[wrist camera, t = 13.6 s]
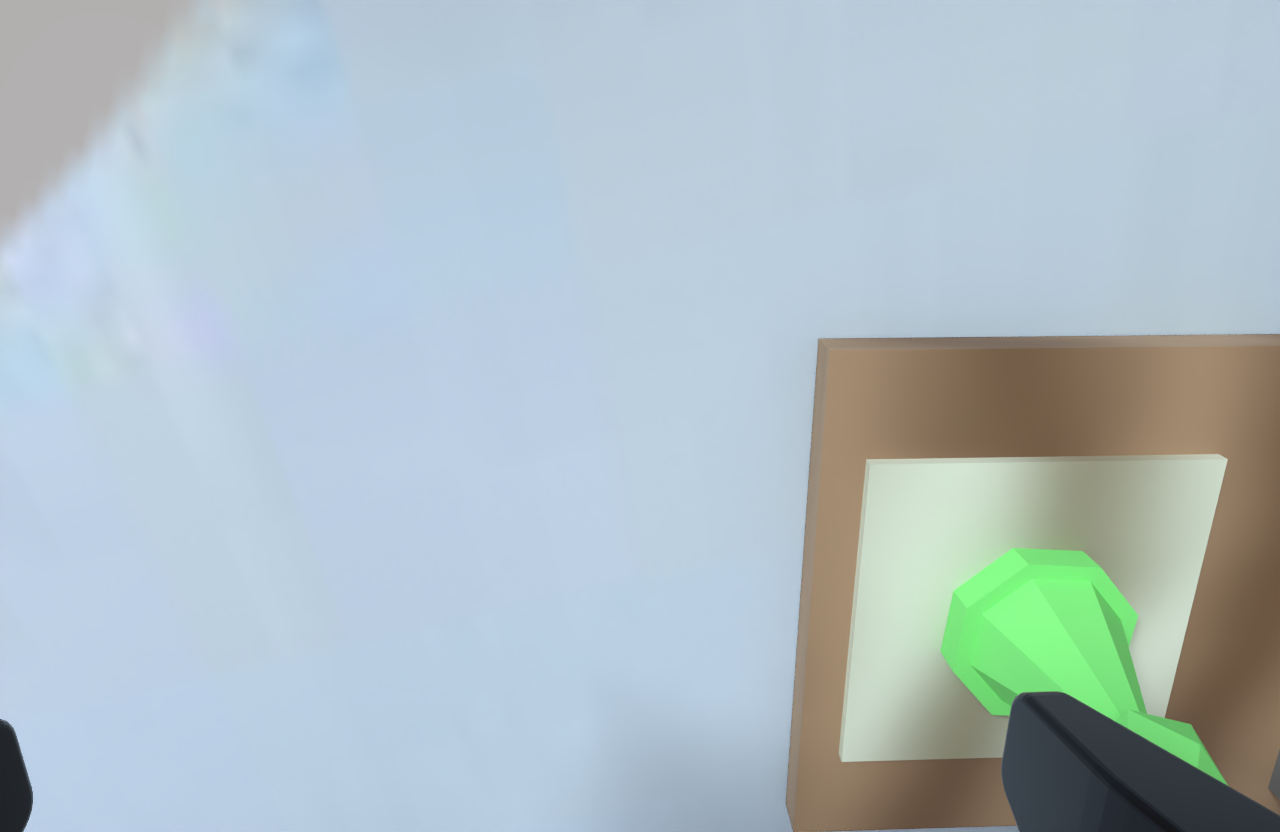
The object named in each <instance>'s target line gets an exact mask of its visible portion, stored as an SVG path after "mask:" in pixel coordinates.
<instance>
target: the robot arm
mask: <svg viewBox="0 0 1280 832" xmlns="http://www.w3.org/2000/svg"><path fill="white" fill-rule="evenodd" d="M1001 776H1002V783H1003V787H1004V791H1005V794H1006V797H1007V800H1008V802H1009V805H1010V808H1011V810H1012V813H1013V815H1014V818H1015V821H1016V823H1017V826H1018V829H1019V831H1020V832H1280V815H1278V814H1276V813H1275V812H1273V811H1271V810H1269V809H1268V808H1266V807H1264V806H1262V805H1261V804H1259V803H1257V802H1255V801H1254V800H1252V799H1250V798H1248V797H1247V796H1245V795H1243V794H1241V793H1240V792H1238V791H1236V790H1234V789H1233V788H1231V787H1229V786H1227V785H1226V784H1224V783H1222V782H1220V781H1219V780H1217V779H1215V778H1213V777H1212V776H1210V775H1208V774H1206V773H1205V772H1203V771H1201V770H1199V769H1198V768H1196V767H1194V766H1192V765H1191V764H1189V763H1187V762H1185V761H1184V760H1182V759H1180V758H1178V757H1177V756H1175V755H1173V754H1171V753H1170V752H1168V751H1166V750H1164V749H1163V748H1161V747H1159V746H1157V745H1156V744H1154V743H1152V742H1150V741H1149V740H1147V739H1145V738H1144V737H1142V736H1140V735H1138V734H1137V733H1135V732H1133V731H1131V730H1130V729H1128V728H1126V727H1124V726H1123V725H1121V724H1119V723H1117V722H1116V721H1114V720H1112V719H1110V718H1109V717H1107V716H1105V715H1103V714H1102V713H1100V712H1098V711H1096V710H1095V709H1093V708H1091V707H1089V706H1088V705H1086V704H1084V703H1082V702H1081V701H1079V700H1077V699H1075V698H1074V697H1072V696H1070V695H1068V694H1066V693H1063V692H1058V691H1047V692H1023V693H1021V694H1019V695H1017V696H1016V697H1015V699H1014V701H1013V703H1012V706H1011V710H1010V716H1009V722H1008V727H1007V733H1006V739H1005V745H1004V751H1003V757H1002V763H1001ZM32 804H33V792H32V787H31V783H30V780H29V777H28V773H27V770H26V767H25V763H24V760H23V756H22V753H21V750H20V746H19V743H18V739H17V736H16V733H15V731H14V728H13V727H12V726H11V725H10V724H9V723H8V722H7V721H5V720H2V719H0V832H23V831H24V829H25V827H26V825H27V822H28V820H29V817H30V814H31V811H32Z"/></svg>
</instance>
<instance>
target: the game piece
mask: <svg viewBox="0 0 1280 832" xmlns="http://www.w3.org/2000/svg"><path fill="white" fill-rule="evenodd" d="M1137 618H1138V614H1137V613H1136V612H1135V611H1134V609H1133V608H1132V607H1131V605H1130V604H1129V603H1128V602H1127V600H1126V599H1125V598H1124V596H1123V595H1122V594H1121V593H1120V591H1119V590H1118V589H1117V587H1116V586H1115V585H1114V583H1113V582H1112V581H1111V580H1110V578H1109V577H1108V576H1107V574H1106V573H1105V572H1104V571H1103V569H1102V568H1101V567H1100V566H1099V565H1098V564H1097V563H1096V562H1094V561H1093V560H1092V559H1091V558H1090V557H1089V556H1088V555H1087V554H1086V553H1084V552H1083V551H1069V550H1047V549H1025V548H1012V549H1011V550H1009V551H1008V552H1007V553H1005V554H1004V555H1003V556H1001V557H1000V558H998V559H997V560H996V561H994V562H993V563H991V564H990V565H989V566H987V567H986V568H984V569H983V570H982V571H980V572H979V573H977V574H976V575H975V576H973V577H972V578H971V579H969V580H968V581H966V582H965V583H964V584H962V585H961V586H959V587H958V588H957V589H955V590H954V591H953V595H952V600H951V604H950V609H949V614H948V618H947V623H946V628H945V632H944V637H943V642H942V646H941V651H940V652H941V653H942V655H943V657H944V658H945V660H946V661H947V663H948V665H949V666H950V668H951V669H952V671H953V672H954V673H955V674H956V675H957V677H958V678H959V679H960V680H961V681H962V682H963V683H964V684H965V686H966V687H967V688H968V689H969V690H970V691H971V692H972V693H973V695H974V696H975V697H976V698H977V699H978V700H979V701H980V702H981V704H982V705H983V706H984V707H985V708H986V709H987V710H988V711H989V712H990V714H991V715H1006V716H1010V710H1011V706H1012V703H1013V701H1014V699H1015V697H1016V696H1017V695H1019V694H1021V693H1023V692H1047V691H1058V692H1063V693H1066V694H1068V695H1070V696H1072V697H1074V698H1075V699H1077V700H1079V701H1081V702H1082V703H1084V704H1086V705H1088V706H1089V707H1091V708H1093V709H1095V710H1096V711H1098V712H1100V713H1102V714H1103V715H1105V716H1107V717H1109V718H1110V719H1112V720H1114V721H1116V722H1117V723H1119V724H1121V725H1123V726H1124V727H1126V728H1128V729H1130V730H1131V731H1133V732H1135V733H1137V734H1138V735H1140V736H1142V737H1144V738H1145V739H1147V740H1149V741H1150V742H1152V743H1154V744H1156V745H1157V746H1159V747H1161V748H1163V749H1164V750H1166V751H1168V752H1170V753H1171V754H1173V755H1175V756H1177V757H1178V758H1180V759H1182V760H1184V761H1185V762H1187V763H1189V764H1191V765H1192V766H1194V767H1196V768H1198V769H1199V770H1201V771H1203V772H1205V773H1206V774H1208V775H1210V776H1212V777H1213V778H1215V779H1217V780H1219V781H1220V782H1222V783H1224V784H1226V785H1227V783H1226V781H1225V780H1224V778H1223V776H1222V775H1221V773H1220V771H1219V770H1218V768H1217V766H1216V765H1215V763H1214V761H1213V760H1212V758H1211V757H1210V755H1209V753H1208V752H1207V750H1206V748H1205V747H1204V745H1203V743H1202V742H1201V740H1200V738H1199V737H1198V735H1197V733H1196V732H1195V730H1194V729H1193V727H1192V725H1191V724H1188V723H1183V722H1179V721H1175V720H1171V719H1167V718H1163V717H1158V716H1154V715H1150V714H1147V711H1146V708H1145V704H1144V701H1143V697H1142V694H1141V690H1140V686H1139V683H1138V679H1137V676H1136V672H1135V668H1134V665H1133V661H1132V658H1131V654H1130V651H1129V645H1130V642H1131V639H1132V635H1133V632H1134V628H1135V625H1136V622H1137ZM1227 786H1228V785H1227Z"/></svg>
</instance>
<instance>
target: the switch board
mask: <svg viewBox="0 0 1280 832" xmlns="http://www.w3.org/2000/svg"><path fill="white" fill-rule="evenodd" d="M1012 548H1025V549H1047V550H1069V551H1083V552H1084V553H1086V554H1087V555H1088V556H1089V557H1090V558H1091V559H1092V560H1093V561H1094V562H1096V563H1097V564H1098V565H1099V566H1100V567H1101V568H1102V569H1103V571H1104V572H1105V573H1106V574H1107V576H1108V577H1109V578H1110V580H1111V581H1112V582H1113V583H1114V585H1115V586H1116V587H1117V589H1118V590H1119V591H1120V593H1121V594H1122V595H1123V596H1124V598H1125V599H1126V600H1127V602H1128V603H1129V604H1130V605H1131V607H1132V608H1133V609H1134V611H1135V612H1136V613H1137V614H1138V618H1137V622H1136V625H1135V628H1134V632H1133V635H1132V639H1131V642H1130V645H1129V651H1130V654H1131V658H1132V661H1133V665H1134V668H1135V672H1136V676H1137V679H1138V683H1139V686H1140V690H1141V694H1142V697H1143V701H1144V704H1145V708H1146V711H1147V714H1150V715H1154V716H1158V717H1163V718H1167V719H1171V720H1175V721H1179V722H1183V723H1188V724H1191V725H1192V727H1193V729H1194V730H1195V732H1196V733H1197V735H1198V737H1199V738H1200V740H1201V742H1202V743H1203V745H1204V747H1205V748H1206V750H1207V752H1208V753H1209V755H1210V757H1211V758H1212V760H1213V761H1214V763H1215V765H1216V766H1217V768H1218V770H1219V771H1220V773H1221V775H1222V776H1223V778H1224V780H1225V781H1226V783H1227V785H1228V786H1229V787H1231V788H1233V789H1234V790H1236V791H1238V792H1240V793H1241V794H1243V795H1245V796H1247V797H1248V798H1250V799H1252V800H1254V801H1255V802H1257V803H1259V804H1261V805H1262V806H1264V807H1266V808H1268V809H1269V810H1271V811H1273V812H1275V813H1276V814H1278V815H1280V334H1250V335H1148V336H1046V337H944V338H842V339H818V353H817V368H816V382H815V396H814V410H813V424H812V439H811V453H810V467H809V481H808V495H807V509H806V524H805V538H804V552H803V566H802V580H801V595H800V609H799V623H798V637H797V651H796V665H795V680H794V694H793V708H792V722H791V736H790V751H789V765H788V779H787V793H786V806H787V810H788V814H789V818H790V821H791V825H792V829H793V832H821V831H854V830H886V829H919V828H951V827H984V826H1016V825H1017V823H1016V821H1015V818H1014V815H1013V813H1012V810H1011V808H1010V805H1009V802H1008V800H1007V797H1006V794H1005V791H1004V787H1003V783H1002V776H1001V763H1002V757H1003V751H1004V745H1005V739H1006V733H1007V727H1008V722H1009V716H1006V715H991V714H990V712H989V711H988V710H987V709H986V708H985V707H984V706H983V705H982V704H981V702H980V701H979V700H978V699H977V698H976V697H975V696H974V695H973V693H972V692H971V691H970V690H969V689H968V688H967V687H966V686H965V684H964V683H963V682H962V681H961V680H960V679H959V678H958V677H957V675H956V674H955V673H954V672H953V671H952V669H951V668H950V666H949V665H948V663H947V661H946V660H945V658H944V657H943V655H942V653H941V652H940V651H941V646H942V642H943V637H944V632H945V628H946V623H947V618H948V614H949V609H950V604H951V600H952V595H953V591H954V590H955V589H957V588H958V587H959V586H961V585H962V584H964V583H965V582H966V581H968V580H969V579H971V578H972V577H973V576H975V575H976V574H977V573H979V572H980V571H982V570H983V569H984V568H986V567H987V566H989V565H990V564H991V563H993V562H994V561H996V560H997V559H998V558H1000V557H1001V556H1003V555H1004V554H1005V553H1007V552H1008V551H1009V550H1011V549H1012Z"/></svg>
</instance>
